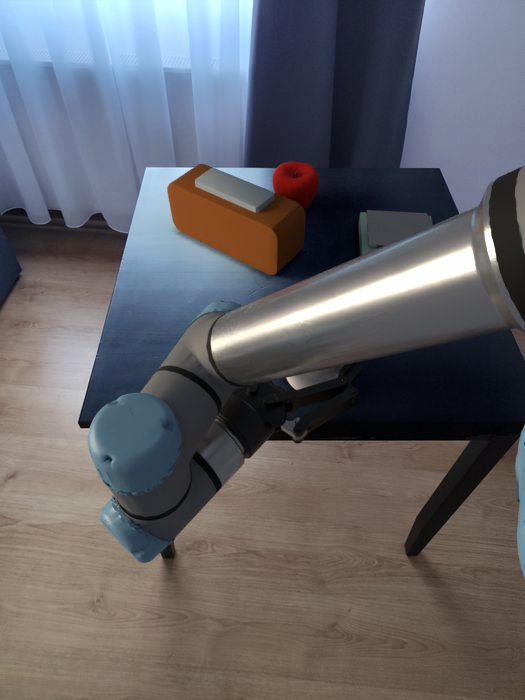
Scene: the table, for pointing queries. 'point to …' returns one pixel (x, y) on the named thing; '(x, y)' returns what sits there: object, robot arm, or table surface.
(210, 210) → the alarm clock
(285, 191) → the apple
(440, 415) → the table surface
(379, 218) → the weighing plate
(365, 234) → the scale
